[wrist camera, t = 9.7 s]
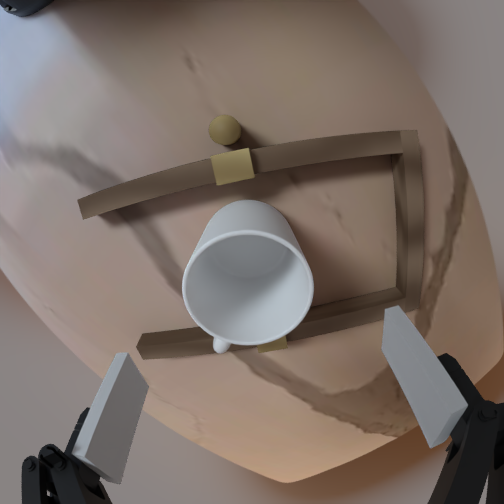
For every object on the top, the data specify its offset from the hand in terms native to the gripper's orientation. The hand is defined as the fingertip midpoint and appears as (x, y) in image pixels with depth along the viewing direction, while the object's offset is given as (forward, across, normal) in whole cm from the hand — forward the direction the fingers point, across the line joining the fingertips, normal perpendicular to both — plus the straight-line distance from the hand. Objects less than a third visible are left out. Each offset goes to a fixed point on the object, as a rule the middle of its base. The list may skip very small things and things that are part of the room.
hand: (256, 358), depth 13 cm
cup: (+15, -1, -1) cm, 15 cm away
